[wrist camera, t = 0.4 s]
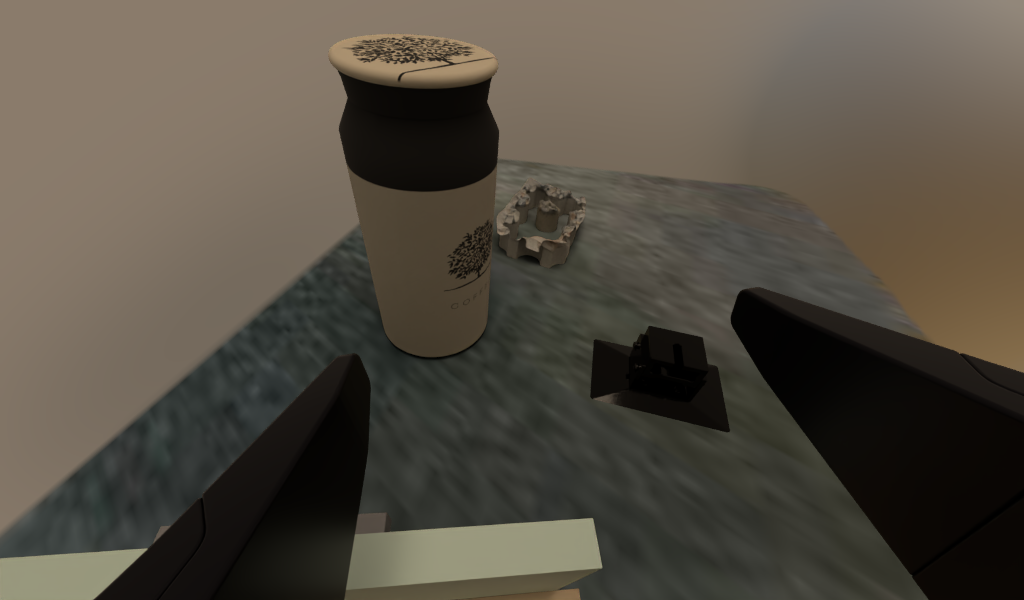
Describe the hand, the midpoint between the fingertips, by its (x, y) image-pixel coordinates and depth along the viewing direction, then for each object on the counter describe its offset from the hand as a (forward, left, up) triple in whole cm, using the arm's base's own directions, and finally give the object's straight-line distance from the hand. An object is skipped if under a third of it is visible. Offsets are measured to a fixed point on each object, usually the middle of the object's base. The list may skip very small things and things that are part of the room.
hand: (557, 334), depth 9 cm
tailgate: (-3, +7, -13) cm, 15 cm away
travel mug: (+15, +4, -16) cm, 22 cm away
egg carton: (+27, -6, -16) cm, 32 cm away
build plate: (+9, -12, -16) cm, 22 cm away
